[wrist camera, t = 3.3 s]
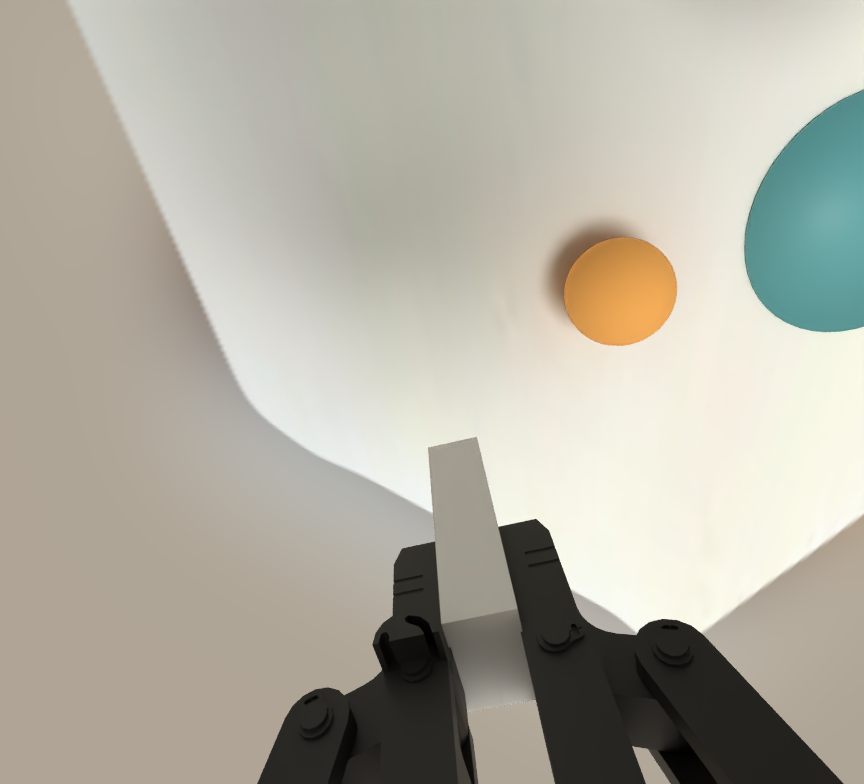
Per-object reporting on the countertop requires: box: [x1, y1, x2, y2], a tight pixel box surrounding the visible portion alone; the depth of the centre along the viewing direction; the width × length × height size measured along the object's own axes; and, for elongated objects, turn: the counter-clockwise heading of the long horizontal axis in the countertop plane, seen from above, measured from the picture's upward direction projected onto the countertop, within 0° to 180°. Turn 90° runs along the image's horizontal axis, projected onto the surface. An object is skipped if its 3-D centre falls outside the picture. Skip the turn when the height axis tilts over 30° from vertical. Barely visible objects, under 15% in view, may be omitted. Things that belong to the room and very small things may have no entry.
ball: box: [564, 237, 677, 346], centre depth 28 cm, size 6×6×6 cm
